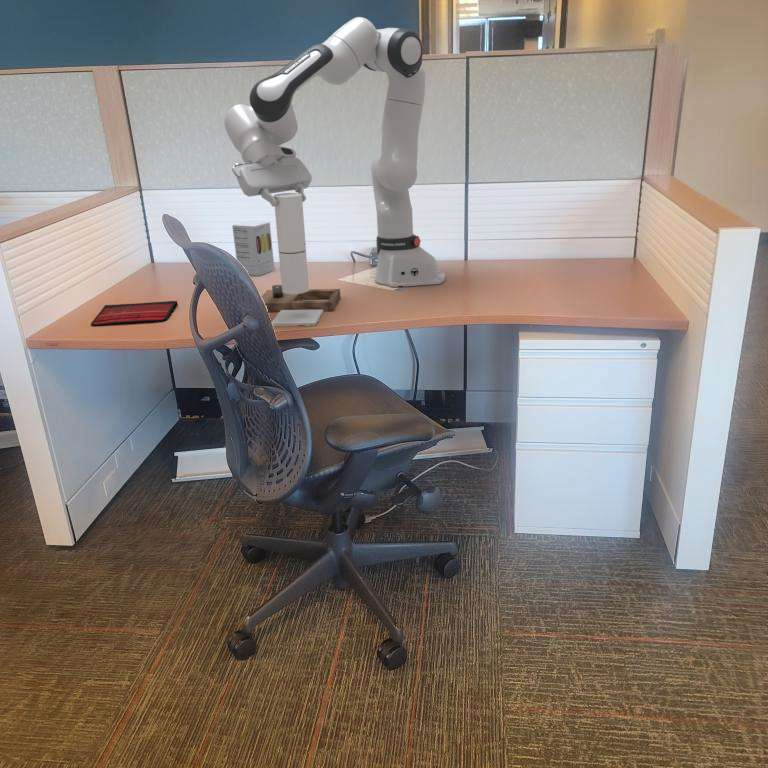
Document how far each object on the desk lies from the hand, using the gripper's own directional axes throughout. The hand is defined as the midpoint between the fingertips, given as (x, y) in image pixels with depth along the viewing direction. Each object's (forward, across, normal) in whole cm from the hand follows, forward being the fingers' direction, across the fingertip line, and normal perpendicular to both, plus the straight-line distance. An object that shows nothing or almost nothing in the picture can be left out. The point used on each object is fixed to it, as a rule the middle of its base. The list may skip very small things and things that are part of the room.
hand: (289, 202), depth 172 cm
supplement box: (-16, +23, +60) cm, 67 cm away
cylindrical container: (+16, 0, +17) cm, 23 cm away
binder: (-5, -28, +50) cm, 58 cm away
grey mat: (+22, -1, +21) cm, 31 cm away
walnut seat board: (+14, +8, +29) cm, 33 cm away
